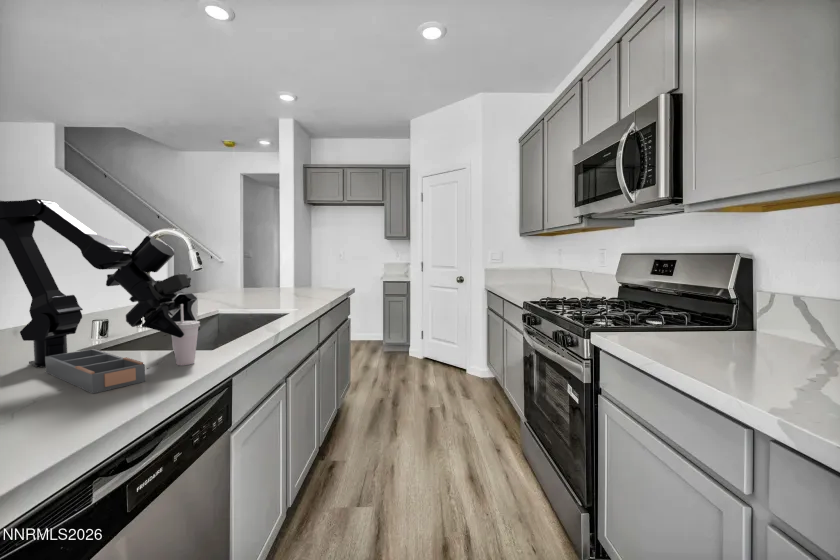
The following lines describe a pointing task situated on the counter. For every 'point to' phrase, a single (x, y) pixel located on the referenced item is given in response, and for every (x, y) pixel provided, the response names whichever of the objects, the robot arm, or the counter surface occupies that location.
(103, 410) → the counter surface
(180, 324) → the smoothie
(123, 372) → the bottle caddy
